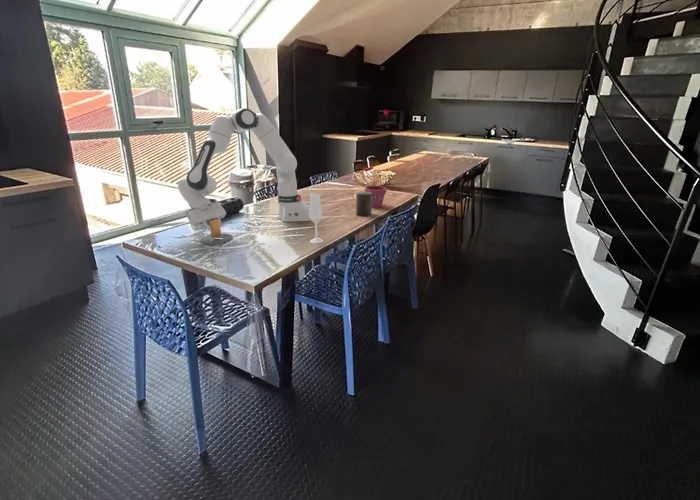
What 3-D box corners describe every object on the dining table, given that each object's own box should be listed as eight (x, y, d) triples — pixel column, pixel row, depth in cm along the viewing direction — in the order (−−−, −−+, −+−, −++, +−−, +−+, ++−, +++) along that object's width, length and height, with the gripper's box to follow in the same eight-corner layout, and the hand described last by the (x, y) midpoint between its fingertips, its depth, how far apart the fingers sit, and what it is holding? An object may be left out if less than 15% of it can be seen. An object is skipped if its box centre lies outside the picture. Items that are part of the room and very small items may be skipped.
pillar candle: (363, 217, 232) (364, 193, 227) (352, 213, 239) (353, 190, 234) (374, 214, 238) (375, 191, 233) (364, 211, 245) (364, 188, 240)
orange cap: (222, 233, 197) (220, 219, 194) (218, 237, 192) (216, 222, 189) (213, 233, 198) (211, 218, 195) (209, 236, 193) (207, 221, 190)
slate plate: (237, 234, 202) (237, 233, 202) (225, 245, 187) (225, 244, 187) (209, 233, 204) (209, 232, 204) (194, 244, 189) (194, 243, 189)
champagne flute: (307, 242, 191) (305, 195, 182) (313, 238, 197) (311, 192, 188) (319, 244, 189) (318, 196, 180) (325, 239, 195) (324, 193, 186)
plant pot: (389, 205, 259) (389, 186, 254) (379, 210, 248) (379, 190, 243) (371, 202, 266) (371, 184, 261) (360, 207, 255) (360, 188, 250)
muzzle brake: (244, 213, 242) (243, 197, 239) (213, 225, 219) (210, 207, 215) (233, 211, 246) (231, 195, 242) (201, 223, 222) (198, 206, 219)
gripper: (184, 207, 184) (201, 229, 183) (218, 198, 200) (233, 219, 199) (180, 214, 188) (196, 236, 187) (214, 205, 204) (228, 225, 203)
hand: (215, 227), depth 193 cm, fingers closed on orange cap, 5 cm apart
